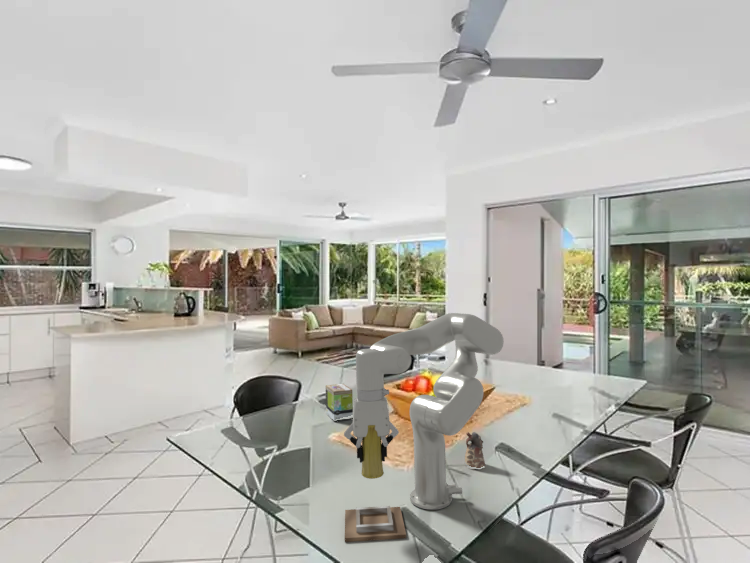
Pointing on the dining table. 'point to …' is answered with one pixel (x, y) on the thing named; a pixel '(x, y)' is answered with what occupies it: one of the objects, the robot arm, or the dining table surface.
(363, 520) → the socket board
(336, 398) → the tea box
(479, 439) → the figurine
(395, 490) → the dining table surface
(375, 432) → the vase
